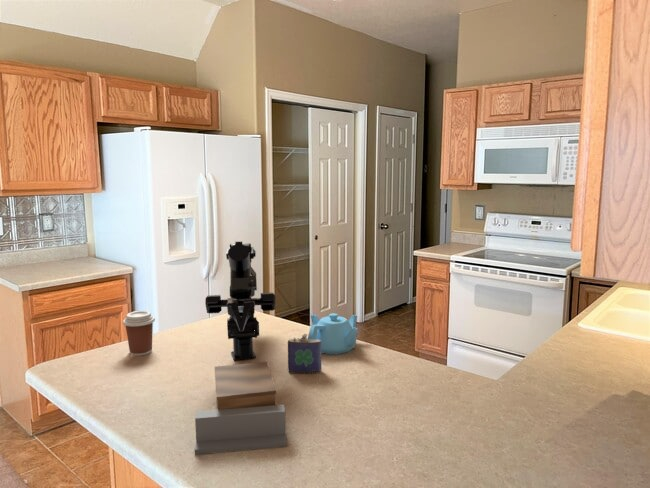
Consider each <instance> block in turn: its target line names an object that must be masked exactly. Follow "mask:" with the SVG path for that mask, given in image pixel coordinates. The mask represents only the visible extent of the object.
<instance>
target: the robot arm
mask: <svg viewBox="0 0 650 488" xmlns="http://www.w3.org/2000/svg"><path fill="white" fill-rule="evenodd" d="M234 242H235V243H230V244H229V247H227V248H226V253H225V255H226V256H225V257H226V260H228V264H229V265H228V266H229V268H230V272H229V273H230V277H229V278H230V279H229V280H230V283H229V284H230V286H229V297H228V298H227V299H222V298H221V294H212V295H211V294H210V295H207V296H206V297H205V299H204V300H205V302H204V303H205V304H204V305H205V309H206V313H207V314H208V315H209V314H210V315H211V314H219V313H221V311H222V308H226V309H227V315H228V316H229V318H228V317H227V320H226V322H227V323H226V325H227V326H226V327H227V339H228V340H230V339H232V341H233V342H232V344H233V347H232V348H233V350H232V351H230V355H231V356H232V359H233V361H234V362H235V361H243V360H251V359H257V355H256V353H255V352H254V342H253V340H254V339H257V338H258V337H259V336H260V322H259V321H258V319H257V317H255V311H256V310H255V307H256V306H260V309H261V310H262V311H263V312H271V311H275V310H276V294H275V293H274V292H261V293H260V297H255V296H256V295H255V292H256V291H257V290H258V287H257V284H258V283H257V280H258V279H257V273H256V271H255V269H254V268H253V267H252V260H253V259H255V257H256V256H257V251H256V250H255V248H254V246H252V245H251V243H249V242H247V243H243V241H234Z"/></svg>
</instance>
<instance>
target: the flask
mask: <svg viewBox="0 0 650 488" xmlns="http://www.w3.org/2000/svg"><path fill="white" fill-rule="evenodd" d="M307 339H308V334H306V333H303V334H302V335H301V337H300V338H298V337H297V338H296V337H294V338H290V339H288V340H287V370H288V373H290V374H298V375H299V374H300V375H302V374H306V375H308V374H320V373H321V372H322V352H321V340H319V339H315V340H307Z"/></svg>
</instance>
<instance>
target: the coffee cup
mask: <svg viewBox="0 0 650 488" xmlns="http://www.w3.org/2000/svg"><path fill="white" fill-rule="evenodd" d="M155 320H156V317H155V316H154V315H152V312H151V311H148V310H136V311H132V312H128V313H127V314H126V315H125V318H124V319H123V320H122V325H123V326H124V327H125V332H126V336H127V337H126V338H127V343H128V344H127V345H128V350H129V354H130V355H131V356H137V357H138V356H139V357H140V356H146V355H148V354H150V353H152V352H153V331H154V330H153V326H154V325H153V324H154V322H155Z"/></svg>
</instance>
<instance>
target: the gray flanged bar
mask: <svg viewBox="0 0 650 488" xmlns="http://www.w3.org/2000/svg"><path fill="white" fill-rule="evenodd" d="M285 409H286V408H285V404H276V405H273V406H260V407H247V408H234V409H220V410H217V409H211V410H207V409H206V410H198V411H197V410H196V413H195V419H194V424H195V440H196V442H195V446H194V447H195V448H194V455H205V454H207V455H208V454H215V453H226V452H239V451H248V450H249V451H250V450H261V449H271V448H272V449H273V448H274V449H275V448H284V447H287V446H288V445H287V435H286V410H285Z"/></svg>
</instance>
